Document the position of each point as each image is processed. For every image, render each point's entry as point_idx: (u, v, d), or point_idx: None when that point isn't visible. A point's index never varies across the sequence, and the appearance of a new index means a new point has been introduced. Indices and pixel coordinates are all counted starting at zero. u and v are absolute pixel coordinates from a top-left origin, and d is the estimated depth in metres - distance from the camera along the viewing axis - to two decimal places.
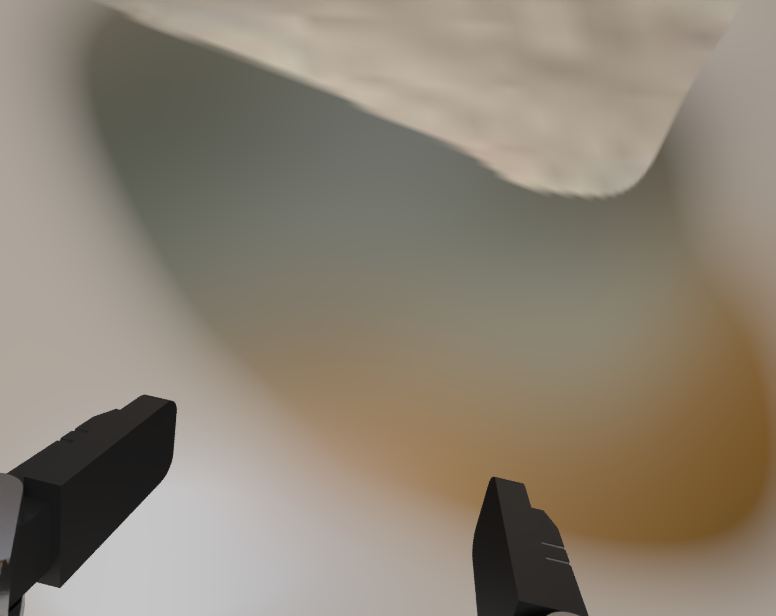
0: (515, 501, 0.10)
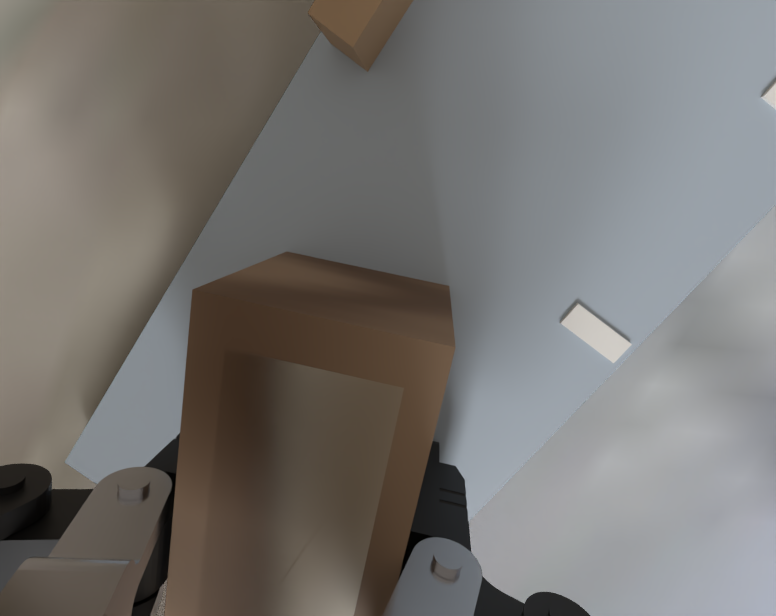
0: None
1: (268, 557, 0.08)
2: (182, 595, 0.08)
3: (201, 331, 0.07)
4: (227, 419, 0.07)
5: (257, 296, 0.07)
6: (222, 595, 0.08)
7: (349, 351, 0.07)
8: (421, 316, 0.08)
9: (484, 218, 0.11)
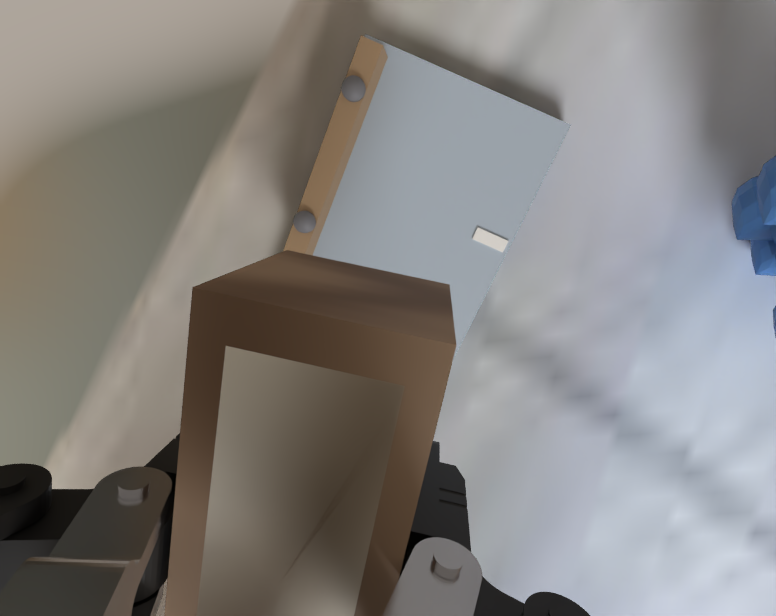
0: None
1: (269, 555, 0.08)
2: (182, 594, 0.08)
3: (202, 329, 0.07)
4: (228, 417, 0.07)
5: (259, 294, 0.07)
6: (221, 593, 0.08)
7: (349, 349, 0.07)
8: (423, 315, 0.08)
9: None
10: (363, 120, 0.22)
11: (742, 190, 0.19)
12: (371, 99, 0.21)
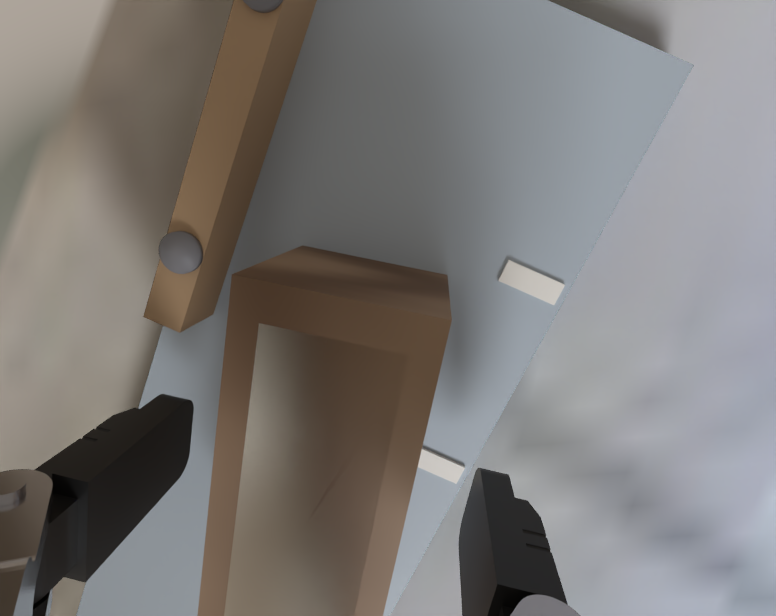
0: (499, 491, 0.10)
1: (294, 504, 0.09)
2: (219, 539, 0.10)
3: (239, 309, 0.09)
4: (260, 384, 0.09)
5: (285, 280, 0.09)
6: (253, 538, 0.10)
7: (362, 324, 0.08)
8: (423, 298, 0.09)
9: None
10: (295, 60, 0.11)
11: None
12: (309, 19, 0.11)
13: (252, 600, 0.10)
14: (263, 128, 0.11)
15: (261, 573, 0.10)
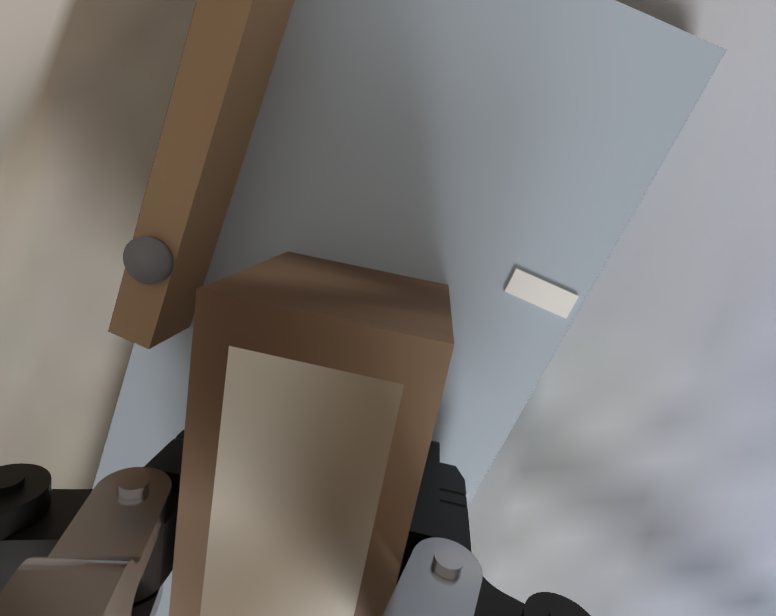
0: None
1: (272, 551, 0.08)
2: (187, 589, 0.09)
3: (205, 329, 0.07)
4: (231, 416, 0.08)
5: (260, 295, 0.07)
6: (225, 588, 0.09)
7: (349, 348, 0.07)
8: (421, 314, 0.08)
9: None
10: (278, 45, 0.10)
11: None
12: None
13: None
14: (242, 121, 0.10)
15: None
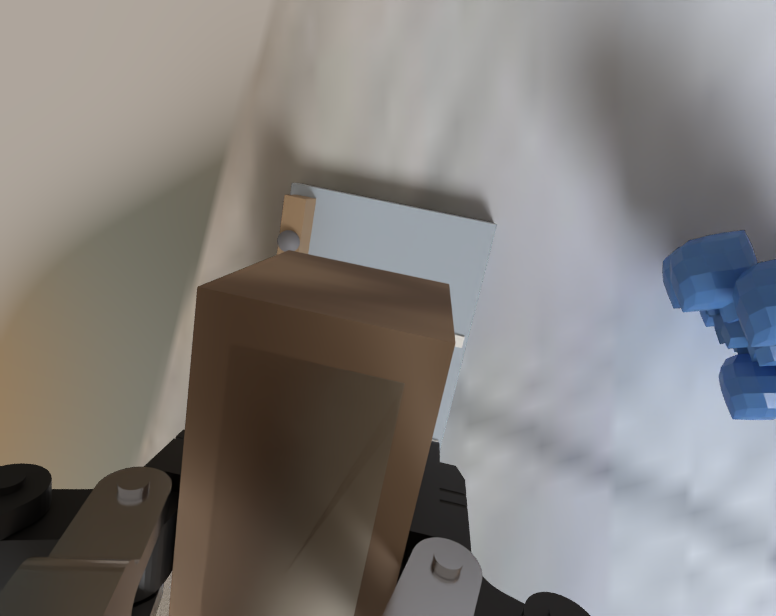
0: None
1: (272, 550, 0.08)
2: (187, 587, 0.09)
3: (206, 328, 0.07)
4: (232, 414, 0.08)
5: (261, 294, 0.07)
6: (226, 587, 0.09)
7: (351, 346, 0.07)
8: (422, 314, 0.08)
9: None
10: None
11: (666, 265, 0.20)
12: (310, 237, 0.23)
13: None
14: None
15: None
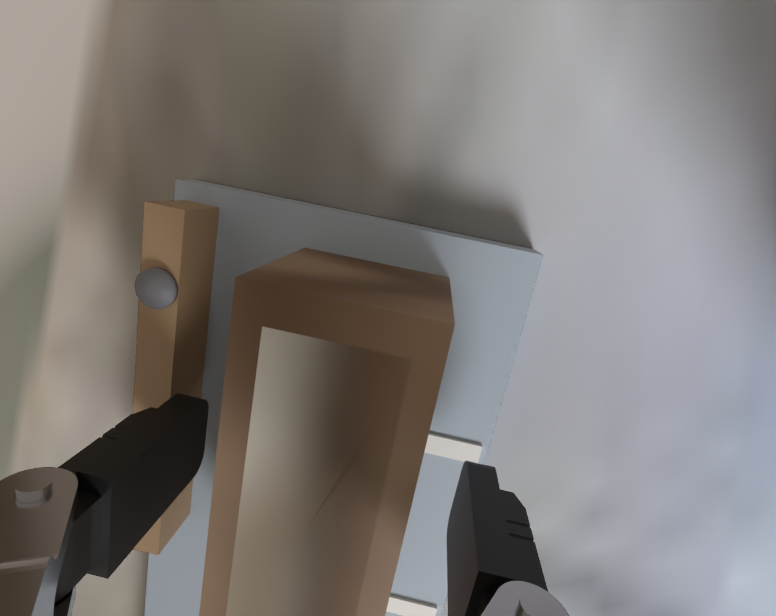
0: (484, 482, 0.10)
1: (296, 507, 0.09)
2: (221, 541, 0.10)
3: (242, 312, 0.09)
4: (263, 387, 0.09)
5: (288, 283, 0.09)
6: (255, 540, 0.10)
7: (366, 328, 0.08)
8: (426, 301, 0.09)
9: None
10: (208, 308, 0.13)
11: None
12: (211, 275, 0.13)
13: (254, 602, 0.10)
14: (192, 372, 0.13)
15: (263, 576, 0.10)
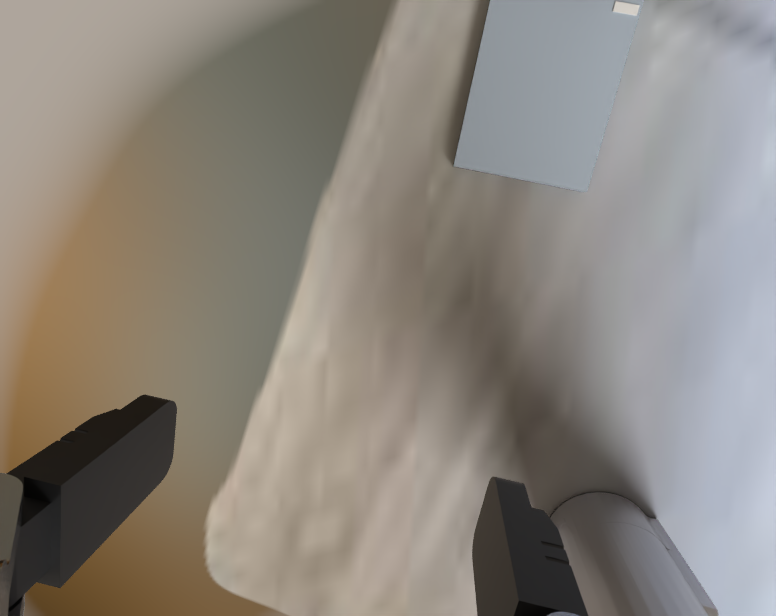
0: (515, 501, 0.10)
1: None
2: None
3: None
4: None
5: None
6: None
7: None
8: None
9: None
10: None
11: None
12: None
13: None
14: None
15: None
